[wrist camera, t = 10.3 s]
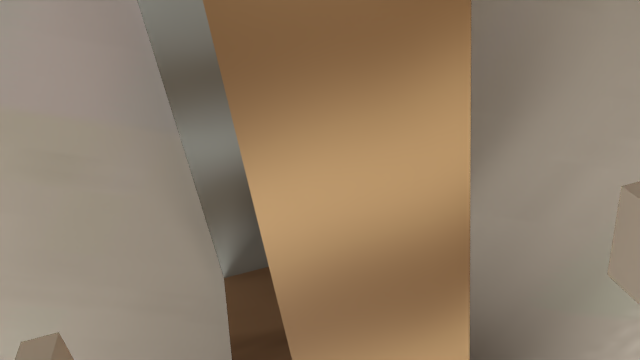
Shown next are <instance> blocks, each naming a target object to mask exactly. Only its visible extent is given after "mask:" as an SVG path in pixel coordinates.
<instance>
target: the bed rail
mask: <svg viewBox="0 0 640 360" xmlns="http://www.w3.org/2000/svg"><path fill="white" fill-rule="evenodd" d="M203 4H204V8H205V12H206V16H207V20H208V24H209V28H210V32H211V36H212V40H213V44H214V48H215V52H216V56H217V60H218V64H219V68H220V72H221V76H222V80H223V84H224V88H225V92H226V96H227V100H228V104H229V108H230V112H231V116H232V120H233V124H234V128H235V132H236V136H237V140H238V144H239V148H240V152H241V156H242V160H243V164H244V168H245V172H246V176H247V180H248V184H249V189H250V193H251V197H252V201H253V205H254V209H255V213H256V217H257V221H258V225H259V229H260V233H261V237H262V241H263V245H264V249H265V253H266V257H267V261H268V265H269V269H270V273H271V277H272V281H273V285H274V289H275V293H276V297H277V301H278V305H279V309H280V313H281V317H282V321H283V325H284V329H285V333H286V337H287V341H288V345H289V349H290V353H291V357H292V360H469V348H470V143H471V0H203Z"/></svg>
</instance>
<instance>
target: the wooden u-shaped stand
mask: <svg viewBox="0 0 640 360" xmlns="http://www.w3.org/2000/svg"><path fill="white" fill-rule="evenodd" d="M137 1H138V4H139V7H140V10H141V14H142V17H143V20H144V23H145V26H146V30H147V33H148V36H149V39H150V42H151V46H152V49H153V52H154V55H155V58H156V62H157V65H158V68H159V71H160V74H161V78H162V81H163V84H164V87H165V90H166V94H167V97H168V100H169V103H170V106H171V110H172V113H173V116H174V119H175V122H176V126H177V129H178V132H179V135H180V138H181V142H182V145H183V148H184V151H185V155H186V158H187V161H188V164H189V167H190V171H191V174H192V177H193V180H194V183H195V187H196V190H197V193H198V196H199V199H200V203H201V206H202V209H203V212H204V215H205V219H206V222H207V225H208V228H209V231H210V235H211V238H212V241H213V244H214V247H215V251H216V254H217V257H218V260H219V263H220V267H221V270H222V273H223V276H224V282H225V292H226V303H227V313H228V323H229V333H230V343H231V353H232V360H292V357H291V353H290V349H289V345H288V341H287V337H286V333H285V329H284V325H283V321H282V317H281V313H280V309H279V305H278V301H277V297H276V293H275V289H274V285H273V281H272V277H271V273H270V269H269V265H268V261H267V257H266V253H265V249H264V245H263V241H262V237H261V233H260V229H259V225H258V221H257V217H256V213H255V209H254V205H253V201H252V197H251V193H250V189H249V184H248V180H247V176H246V172H245V168H244V164H243V160H242V156H241V152H240V148H239V144H238V140H237V136H236V132H235V128H234V124H233V120H232V116H231V112H230V108H229V104H228V100H227V96H226V92H225V88H224V84H223V80H222V76H221V72H220V68H219V64H218V60H217V56H216V52H215V48H214V44H213V40H212V36H211V32H210V28H209V24H208V20H207V16H206V12H205V8H204V4H203V0H137Z"/></svg>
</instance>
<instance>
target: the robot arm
mask: <svg viewBox="0 0 640 360" xmlns="http://www.w3.org/2000/svg"><path fill="white" fill-rule="evenodd" d="M607 275H608V276H609V277H610V278H611V279H612V280H613V281H615V282H616V283H617V284H618V285H619V286H620V287H621V288H622V289H623V290H624V291H625V292H626V293H628V294H629V295H630V296H631V297H632V298H633V299H634V300H635V301H636V302H637V303H638V304H639V305H640V182H636V183H632V184H629V185H625V186H621V192H620V198H619V204H618V211H617V217H616V223H615V230H614V236H613V242H612V248H611V255H610V261H609V267H608V273H607ZM15 360H74V359H73V358H72V356H71V354H70V352H69V350H68V348H67V347H66V345H65V343H64V341H63V339H62V337H61V336H60V334H59V332H58V333H54V334H50V335H46V336H43V337H39V338H35V339H31V340H27V341H23V342H21V344H20V347H19V350H18V352H17V355H16V358H15Z"/></svg>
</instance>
